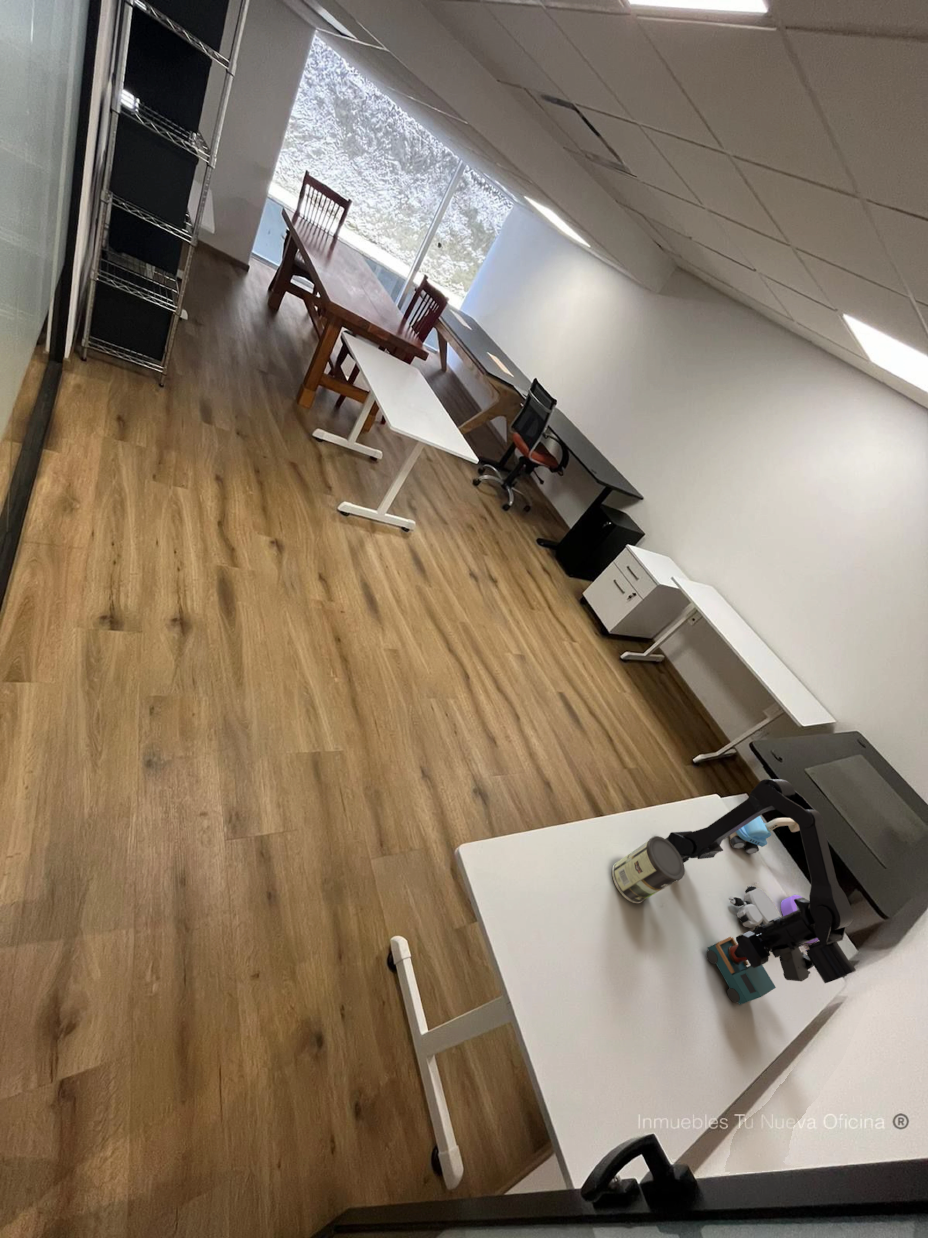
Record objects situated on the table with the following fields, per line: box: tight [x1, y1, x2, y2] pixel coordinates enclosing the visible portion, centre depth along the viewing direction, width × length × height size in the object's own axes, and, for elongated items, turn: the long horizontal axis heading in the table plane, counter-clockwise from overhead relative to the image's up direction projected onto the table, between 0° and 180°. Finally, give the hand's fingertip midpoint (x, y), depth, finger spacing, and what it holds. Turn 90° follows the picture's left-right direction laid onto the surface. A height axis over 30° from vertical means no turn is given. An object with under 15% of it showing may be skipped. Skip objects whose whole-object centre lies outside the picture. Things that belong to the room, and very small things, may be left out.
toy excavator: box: [729, 815, 800, 855], centre depth 163 cm, size 9×17×17 cm, turn 89°
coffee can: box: [611, 835, 686, 904], centre depth 129 cm, size 10×10×14 cm
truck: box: [705, 936, 777, 1006], centre depth 126 cm, size 12×7×8 cm, turn 24°
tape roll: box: [780, 894, 819, 944], centre depth 153 cm, size 12×12×4 cm
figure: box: [728, 940, 765, 965], centre depth 125 cm, size 4×4×8 cm
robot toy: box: [728, 881, 782, 933], centre depth 145 cm, size 12×4×15 cm
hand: (739, 953), depth 126 cm, fingers closed on figure, 3 cm apart
